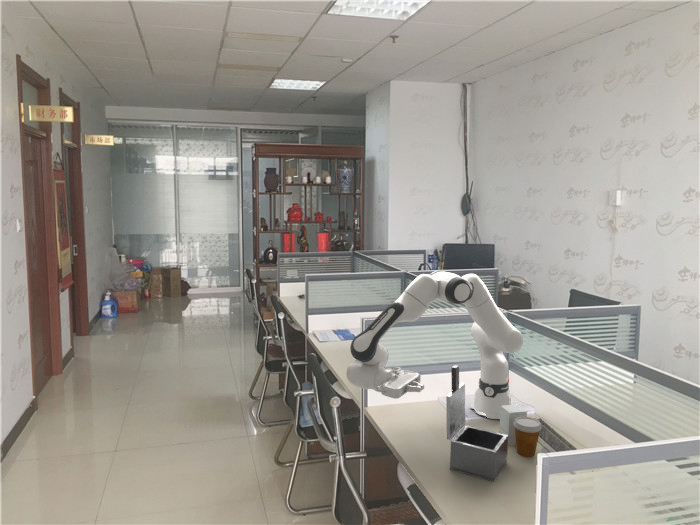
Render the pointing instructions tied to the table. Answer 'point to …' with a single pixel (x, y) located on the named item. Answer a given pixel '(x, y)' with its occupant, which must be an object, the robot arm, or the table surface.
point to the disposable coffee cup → (526, 436)
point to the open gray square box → (479, 452)
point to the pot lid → (455, 405)
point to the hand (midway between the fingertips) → (422, 388)
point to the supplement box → (510, 421)
